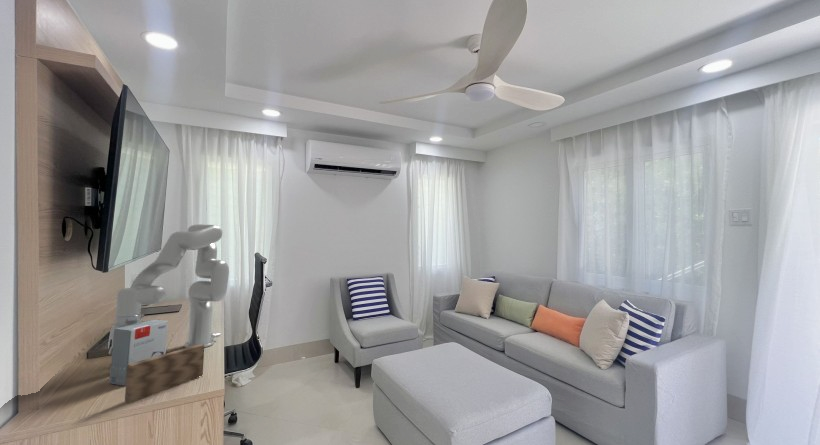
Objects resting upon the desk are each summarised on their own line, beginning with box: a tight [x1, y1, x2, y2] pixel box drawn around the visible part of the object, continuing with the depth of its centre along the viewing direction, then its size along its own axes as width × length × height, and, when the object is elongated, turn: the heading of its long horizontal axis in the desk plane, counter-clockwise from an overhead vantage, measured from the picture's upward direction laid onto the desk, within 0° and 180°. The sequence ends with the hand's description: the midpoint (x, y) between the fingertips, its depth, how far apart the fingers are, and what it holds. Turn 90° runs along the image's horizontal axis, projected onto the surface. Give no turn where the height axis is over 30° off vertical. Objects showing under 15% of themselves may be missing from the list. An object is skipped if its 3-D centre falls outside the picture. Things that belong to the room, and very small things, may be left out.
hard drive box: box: [109, 319, 169, 387], centre depth 126 cm, size 16×8×20 cm, turn 168°
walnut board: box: [124, 344, 205, 404], centre depth 118 cm, size 24×2×12 cm, turn 154°
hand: (125, 365), depth 130 cm, fingers closed
